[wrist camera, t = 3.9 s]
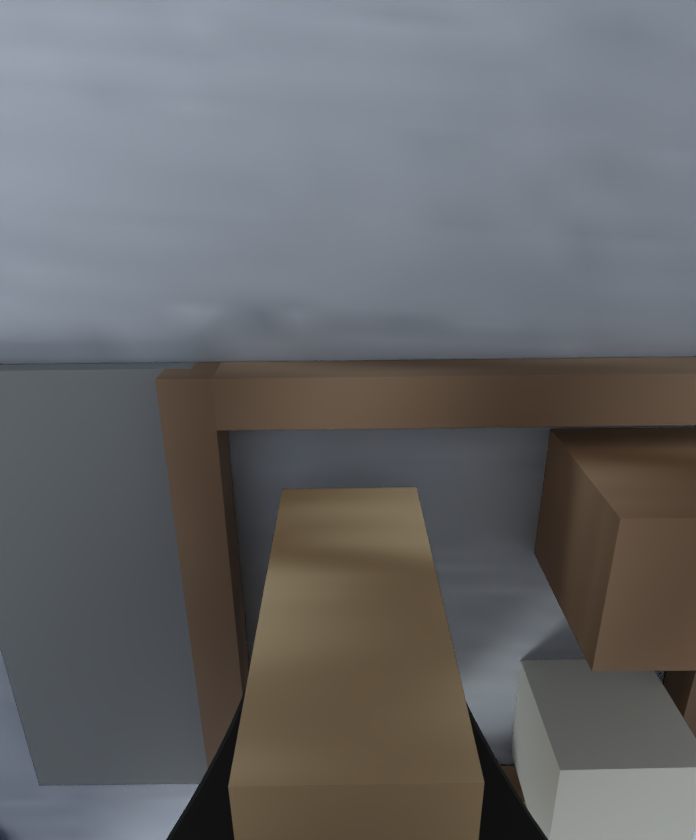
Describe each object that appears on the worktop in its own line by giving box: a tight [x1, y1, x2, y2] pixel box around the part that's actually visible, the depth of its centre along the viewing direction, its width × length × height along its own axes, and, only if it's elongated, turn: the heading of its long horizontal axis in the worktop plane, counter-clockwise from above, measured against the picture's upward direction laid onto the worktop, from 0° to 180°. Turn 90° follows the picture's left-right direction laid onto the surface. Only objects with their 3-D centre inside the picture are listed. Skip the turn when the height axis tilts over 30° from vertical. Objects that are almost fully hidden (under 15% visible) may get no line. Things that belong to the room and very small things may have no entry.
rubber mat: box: [0, 362, 207, 786], centre depth 14 cm, size 5×11×1 cm, turn 1°
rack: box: [155, 357, 696, 807], centre depth 14 cm, size 12×12×1 cm
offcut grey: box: [511, 659, 696, 840], centre depth 14 cm, size 3×3×3 cm
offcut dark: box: [534, 428, 696, 671], centre depth 12 cm, size 3×3×4 cm
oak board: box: [228, 487, 484, 840], centre depth 10 cm, size 2×8×6 cm, turn 1°
